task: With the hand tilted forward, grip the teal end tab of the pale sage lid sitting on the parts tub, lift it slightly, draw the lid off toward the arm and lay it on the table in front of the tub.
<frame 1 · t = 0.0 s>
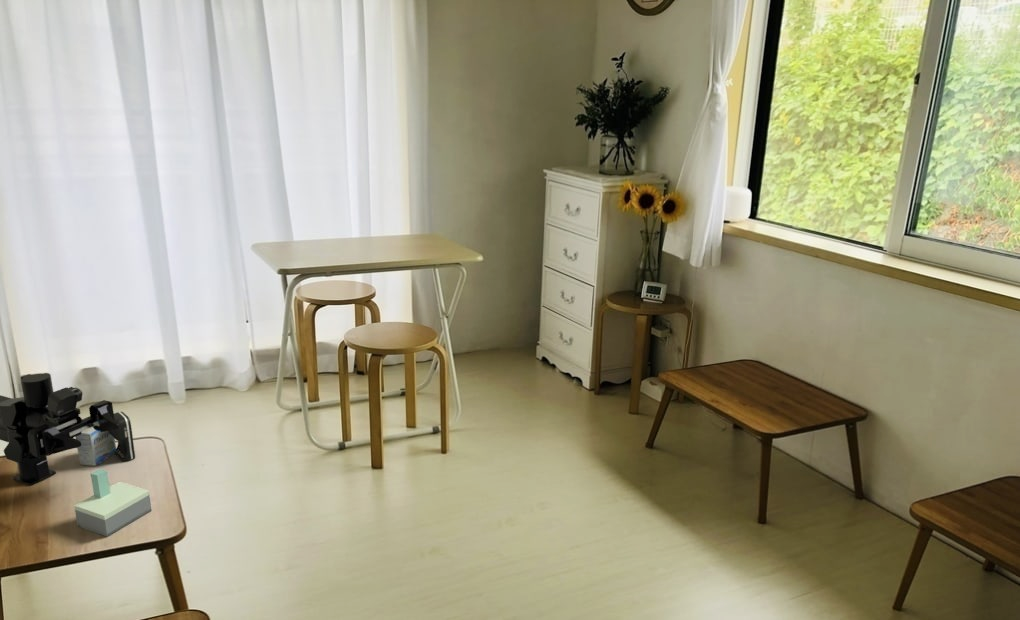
hand: (99, 435, 161), 17 cm above the table, tool horizontal, fingers open, 9 cm apart
block a: (104, 524, 158), resting on tub
medicine box: (98, 458, 186), on the table
lid: (110, 488, 158), on the tub, point 7 cm above the table
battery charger: (123, 457, 186), on the table
tub: (115, 518, 160), on the table
block b: (127, 514, 162), resting on tub
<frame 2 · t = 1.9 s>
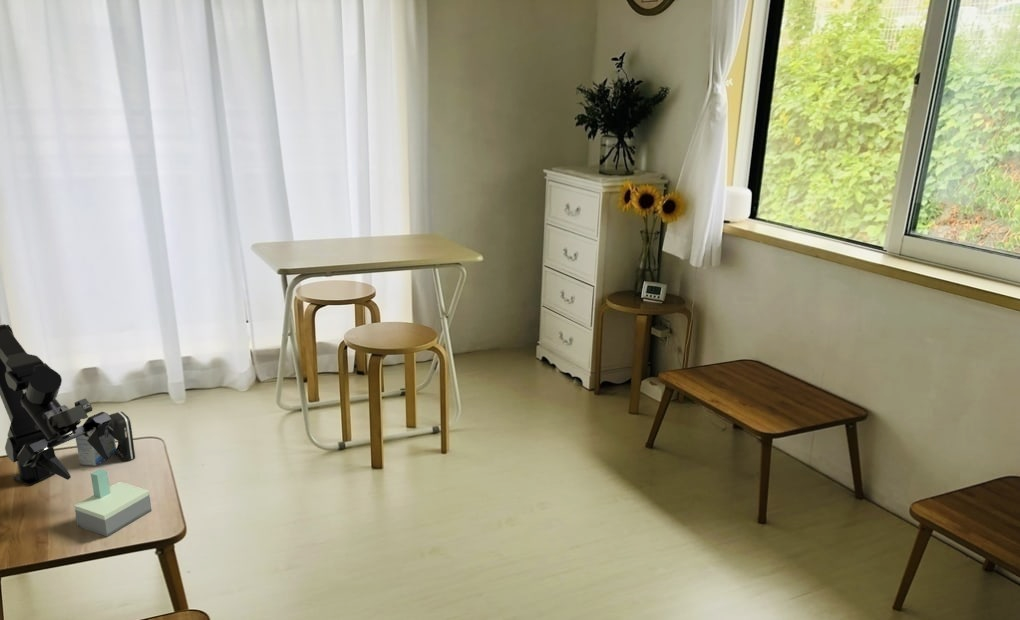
hand: (89, 468, 159), 11 cm above the table, tool tilted 45°, fingers open, 9 cm apart
nothing on the table moved.
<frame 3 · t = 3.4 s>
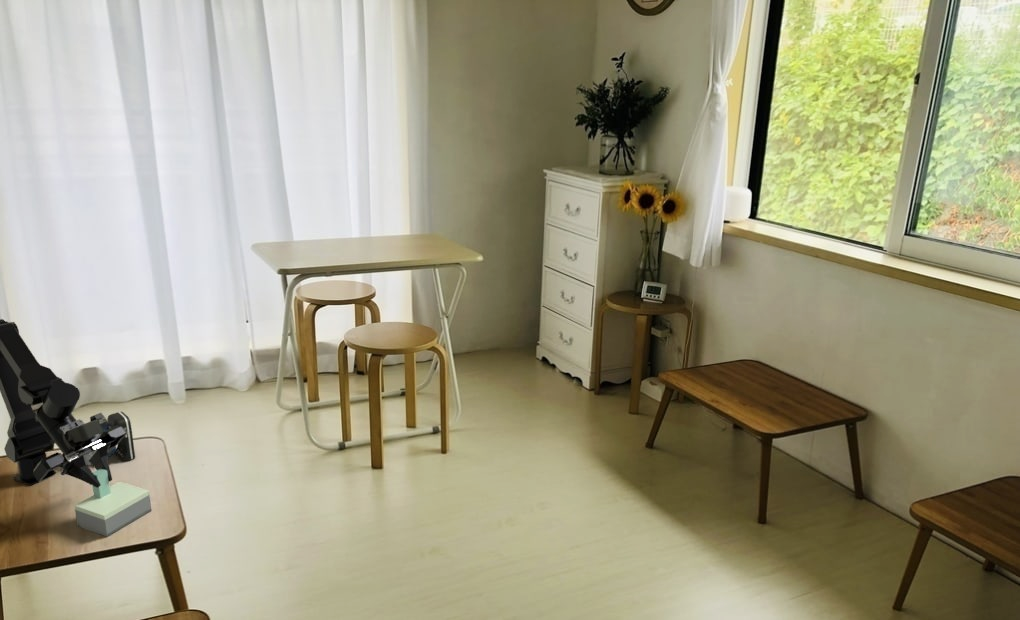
hand: (105, 483, 158), 8 cm above the table, tool tilted 45°, fingers closed on lid, 2 cm apart
lid: (110, 488, 158), on the tub, point 7 cm above the table, touching gripper
everything else where it was.
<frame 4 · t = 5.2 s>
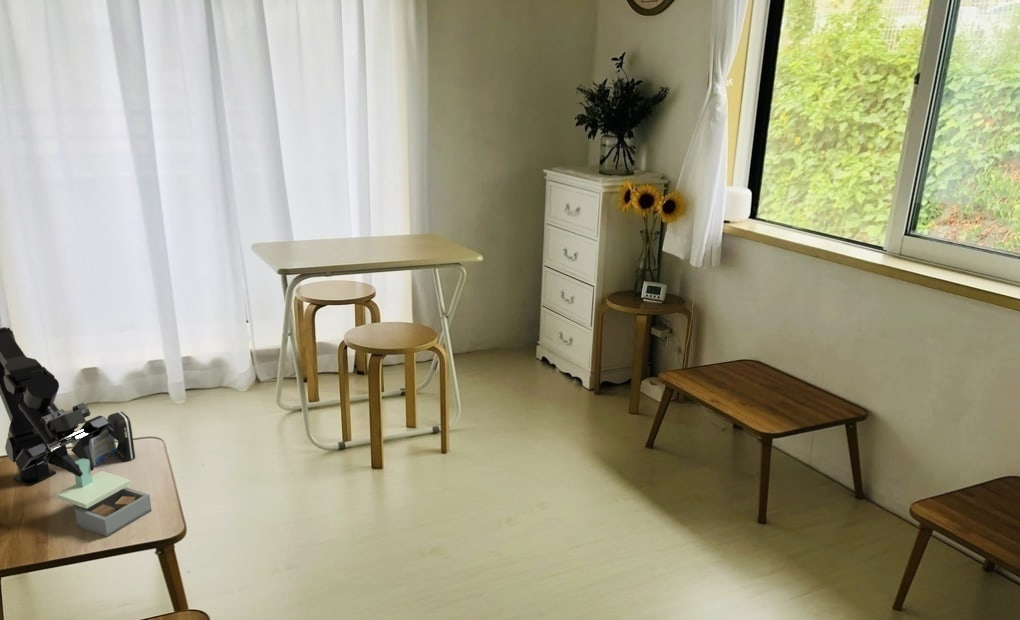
hand: (87, 472, 160), 9 cm above the table, tool tilted 45°, fingers closed on lid, 2 cm apart
lid: (92, 477, 160), point 8 cm above the table, touching gripper
everything else where it was.
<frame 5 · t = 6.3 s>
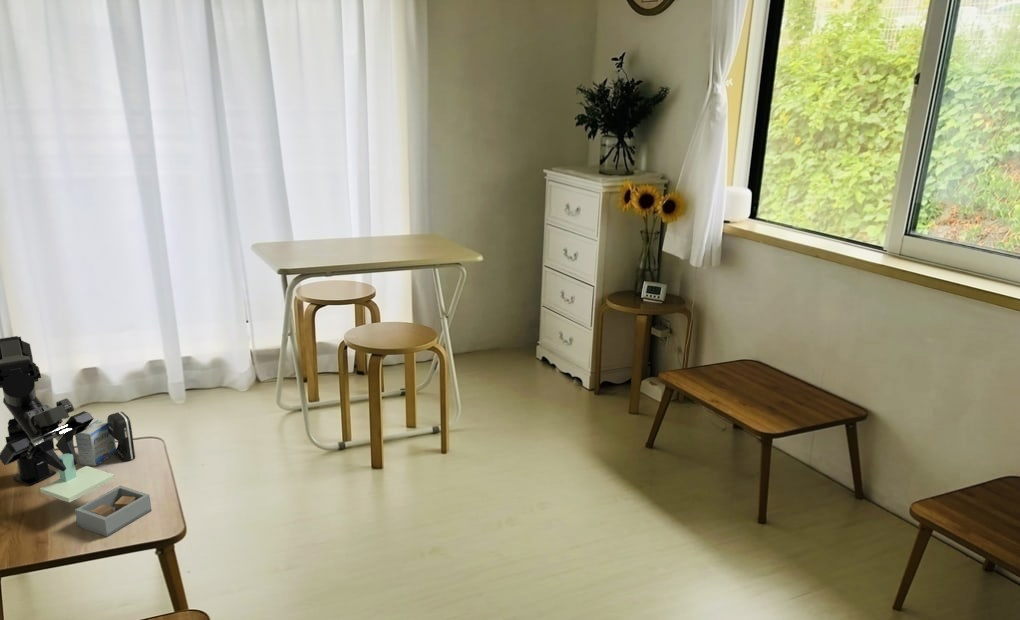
hand: (70, 467, 162), 9 cm above the table, tool tilted 45°, fingers closed on lid, 2 cm apart
lid: (76, 472, 162), point 8 cm above the table, touching gripper
everything else where it was.
when the fingers open (6 cm above the table, at t = 7.1 s): lid drops 3 cm, on the table.
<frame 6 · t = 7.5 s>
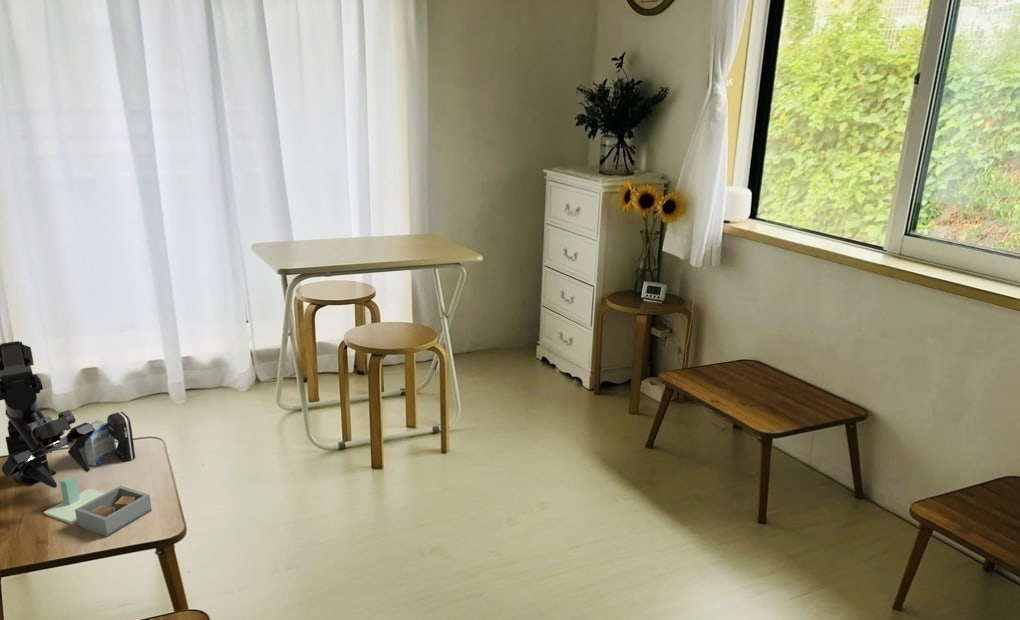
hand: (72, 478, 163), 7 cm above the table, tool tilted 45°, fingers open, 7 cm apart
lid: (79, 495, 164), on the table
everything else where it was.
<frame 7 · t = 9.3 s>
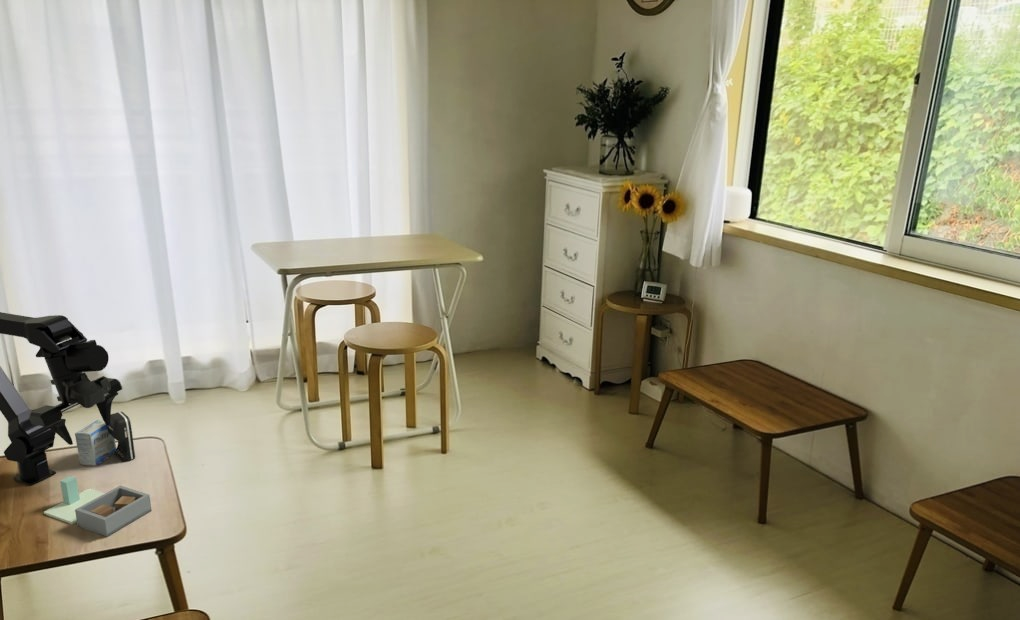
hand: (90, 434, 169), 13 cm above the table, tool pointing down, fingers open, 9 cm apart
nothing on the table moved.
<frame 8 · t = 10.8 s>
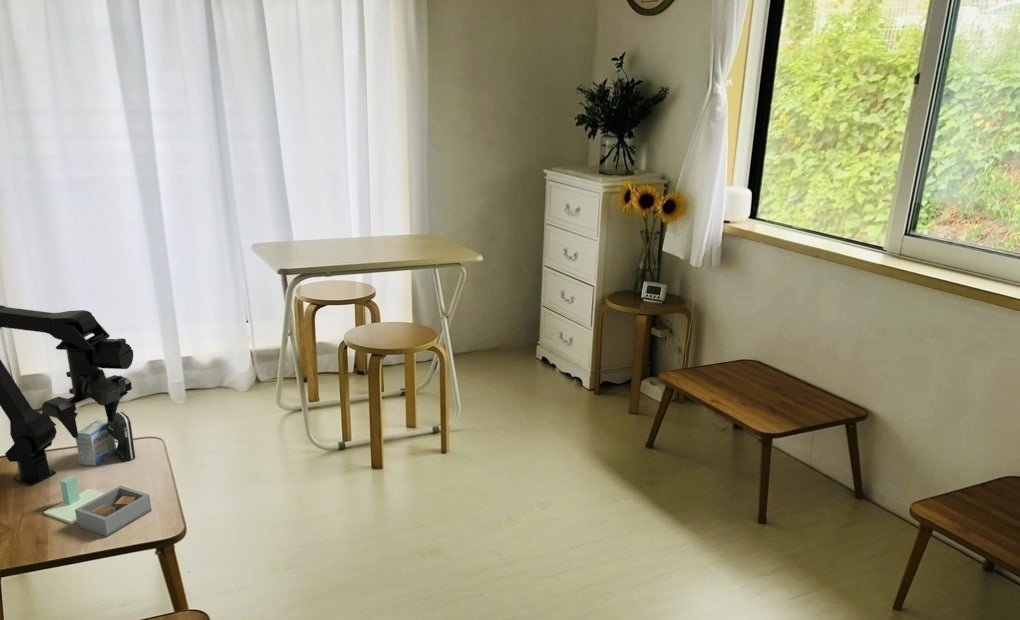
hand: (93, 429, 172), 13 cm above the table, tool pointing down, fingers open, 9 cm apart
nothing on the table moved.
at the end: lid inside the target area (1.3 cm from its centre), on the table; lid touching table; lid tilted 0° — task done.
